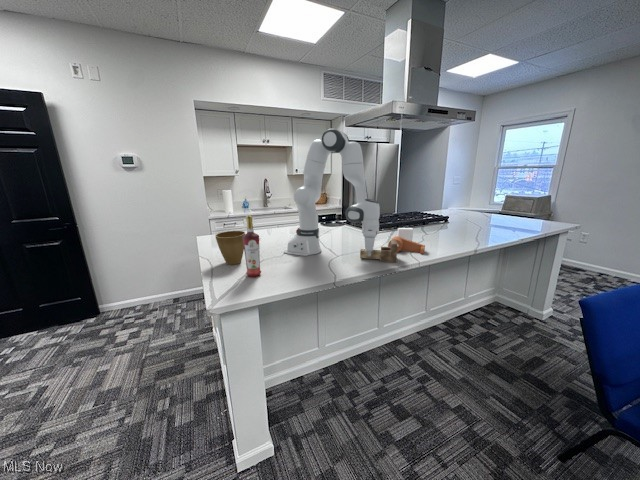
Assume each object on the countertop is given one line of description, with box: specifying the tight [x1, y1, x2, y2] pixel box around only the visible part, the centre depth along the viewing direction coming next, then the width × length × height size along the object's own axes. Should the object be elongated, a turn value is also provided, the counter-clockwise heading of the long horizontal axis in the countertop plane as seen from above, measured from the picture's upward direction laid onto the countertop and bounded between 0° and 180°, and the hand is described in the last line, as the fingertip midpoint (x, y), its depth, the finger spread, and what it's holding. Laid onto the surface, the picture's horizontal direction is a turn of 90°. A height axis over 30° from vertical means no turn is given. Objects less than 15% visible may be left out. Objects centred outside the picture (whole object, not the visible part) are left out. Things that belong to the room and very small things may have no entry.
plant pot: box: [215, 230, 246, 266], centre depth 139 cm, size 15×15×16 cm
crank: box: [387, 236, 426, 255], centre depth 155 cm, size 20×8×8 cm, turn 65°
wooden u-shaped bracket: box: [380, 239, 398, 264], centre depth 140 cm, size 8×8×10 cm
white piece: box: [397, 227, 414, 246], centre depth 162 cm, size 9×9×12 cm
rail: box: [359, 248, 381, 260], centre depth 143 cm, size 15×4×4 cm, turn 77°
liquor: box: [242, 215, 262, 278], centre depth 120 cm, size 7×7×28 cm
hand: (369, 254), depth 143 cm, fingers closed on rail, 3 cm apart
